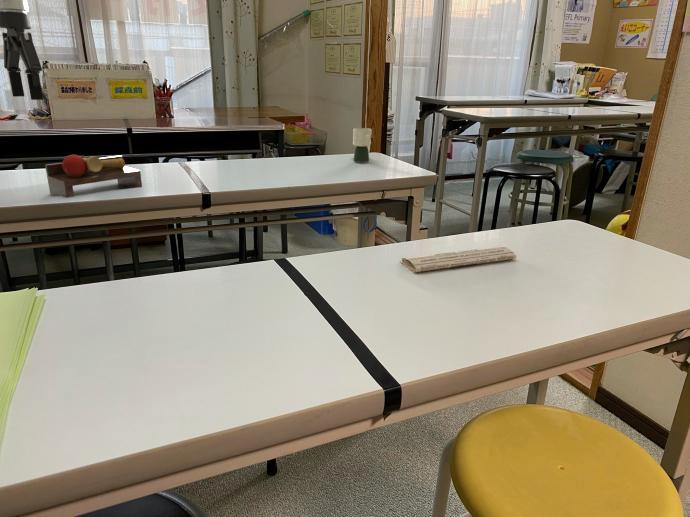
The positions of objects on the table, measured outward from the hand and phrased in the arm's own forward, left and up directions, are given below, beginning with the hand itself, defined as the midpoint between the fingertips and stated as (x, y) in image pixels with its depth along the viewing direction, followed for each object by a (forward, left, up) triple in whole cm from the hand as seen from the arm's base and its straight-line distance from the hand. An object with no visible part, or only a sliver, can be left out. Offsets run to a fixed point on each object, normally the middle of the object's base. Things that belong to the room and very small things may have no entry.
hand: (27, 98), depth 140 cm
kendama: (+13, -8, -21) cm, 25 cm away
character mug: (+111, -5, -26) cm, 114 cm away
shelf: (+13, -7, -26) cm, 30 cm away
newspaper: (+63, -103, -26) cm, 123 cm away
